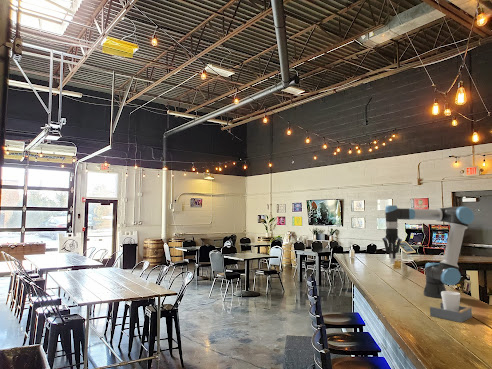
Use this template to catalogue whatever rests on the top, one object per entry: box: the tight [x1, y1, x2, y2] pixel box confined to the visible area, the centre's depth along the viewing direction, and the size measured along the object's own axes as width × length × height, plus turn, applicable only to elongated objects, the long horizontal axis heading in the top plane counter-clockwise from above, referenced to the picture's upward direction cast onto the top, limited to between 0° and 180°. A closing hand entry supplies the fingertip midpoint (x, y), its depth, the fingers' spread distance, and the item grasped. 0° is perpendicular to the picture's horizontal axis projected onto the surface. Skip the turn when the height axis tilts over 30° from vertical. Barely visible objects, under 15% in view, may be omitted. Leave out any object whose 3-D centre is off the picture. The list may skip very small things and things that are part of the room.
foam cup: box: [441, 290, 461, 312], centre depth 204 cm, size 10×9×13 cm
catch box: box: [429, 302, 473, 323], centre depth 203 cm, size 16×16×6 cm
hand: (392, 263), depth 242 cm, fingers closed
